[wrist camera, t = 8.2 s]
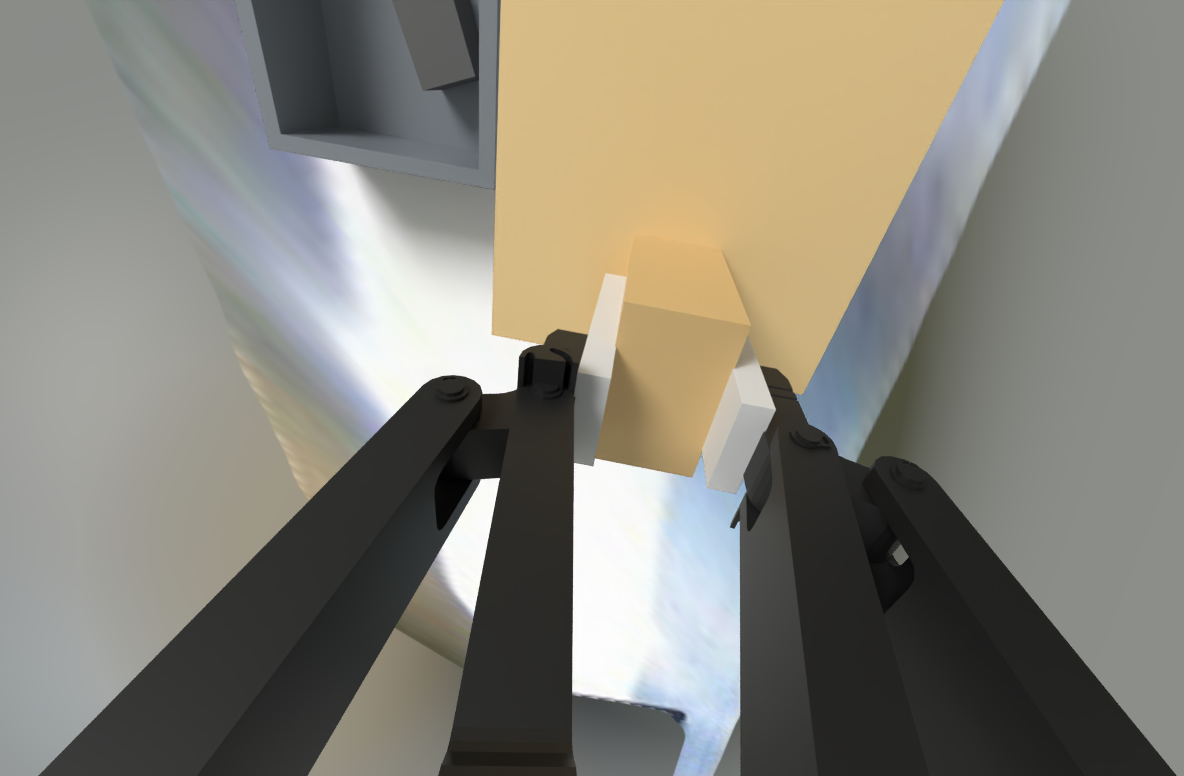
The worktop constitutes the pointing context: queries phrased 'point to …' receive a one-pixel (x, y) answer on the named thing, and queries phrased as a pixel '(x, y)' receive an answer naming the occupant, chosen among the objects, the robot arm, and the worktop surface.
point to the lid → (708, 182)
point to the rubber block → (440, 41)
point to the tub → (369, 89)
